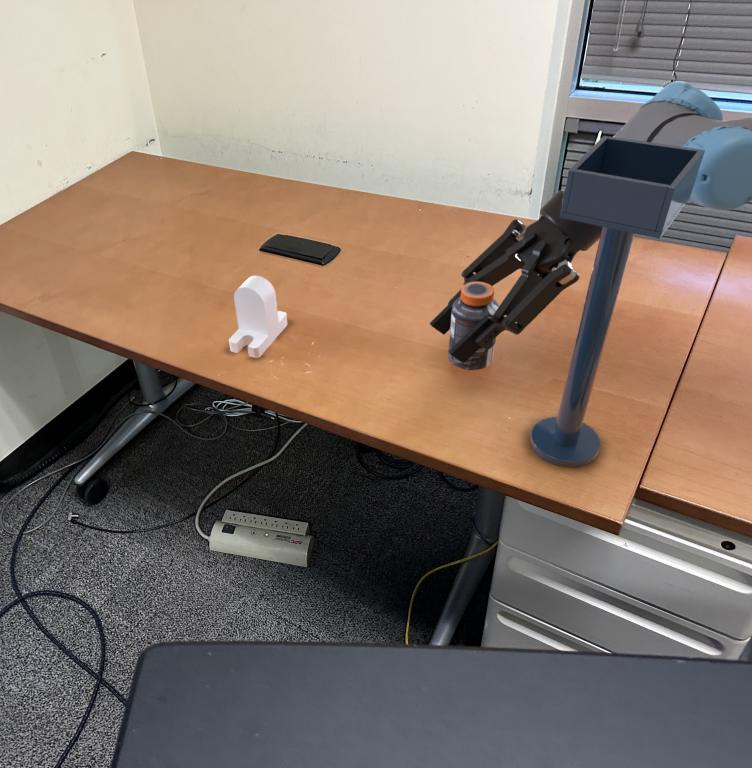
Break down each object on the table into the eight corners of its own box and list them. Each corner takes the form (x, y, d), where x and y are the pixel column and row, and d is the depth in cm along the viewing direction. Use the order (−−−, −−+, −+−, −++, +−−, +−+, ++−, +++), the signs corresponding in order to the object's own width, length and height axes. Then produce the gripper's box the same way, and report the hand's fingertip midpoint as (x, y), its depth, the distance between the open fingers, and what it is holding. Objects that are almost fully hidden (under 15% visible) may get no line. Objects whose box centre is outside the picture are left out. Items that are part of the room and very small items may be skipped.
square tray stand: (613, 437, 83) (705, 149, 60) (586, 480, 78) (675, 188, 56) (543, 411, 88) (603, 135, 65) (514, 450, 83) (568, 170, 60)
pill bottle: (502, 360, 93) (513, 289, 86) (470, 377, 91) (478, 307, 84) (470, 340, 97) (477, 271, 90) (438, 356, 95) (443, 287, 88)
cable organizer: (288, 323, 109) (283, 268, 103) (258, 358, 103) (250, 303, 97) (260, 316, 112) (253, 262, 105) (228, 351, 105) (219, 296, 99)
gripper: (530, 161, 88) (403, 293, 97) (616, 225, 73) (457, 373, 83) (562, 192, 91) (437, 317, 101) (650, 260, 77) (494, 398, 86)
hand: (446, 342), depth 92 cm, fingers closed on pill bottle, 6 cm apart
